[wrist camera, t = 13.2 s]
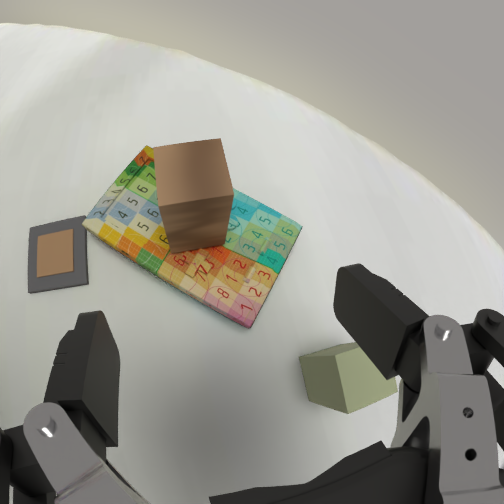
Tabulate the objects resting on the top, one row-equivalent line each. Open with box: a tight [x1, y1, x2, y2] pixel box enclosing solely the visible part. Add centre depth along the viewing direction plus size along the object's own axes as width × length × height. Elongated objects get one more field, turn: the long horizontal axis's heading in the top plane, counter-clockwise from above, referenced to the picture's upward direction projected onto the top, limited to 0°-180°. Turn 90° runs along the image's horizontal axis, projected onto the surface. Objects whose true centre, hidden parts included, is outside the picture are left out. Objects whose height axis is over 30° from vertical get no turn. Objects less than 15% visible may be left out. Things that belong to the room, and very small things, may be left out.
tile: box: [28, 216, 89, 293], centre depth 28 cm, size 8×8×1 cm
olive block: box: [299, 342, 398, 414], centre depth 25 cm, size 5×5×9 cm
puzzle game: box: [82, 145, 302, 329], centre depth 30 cm, size 12×5×20 cm
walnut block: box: [153, 138, 234, 254], centre depth 24 cm, size 5×5×9 cm
